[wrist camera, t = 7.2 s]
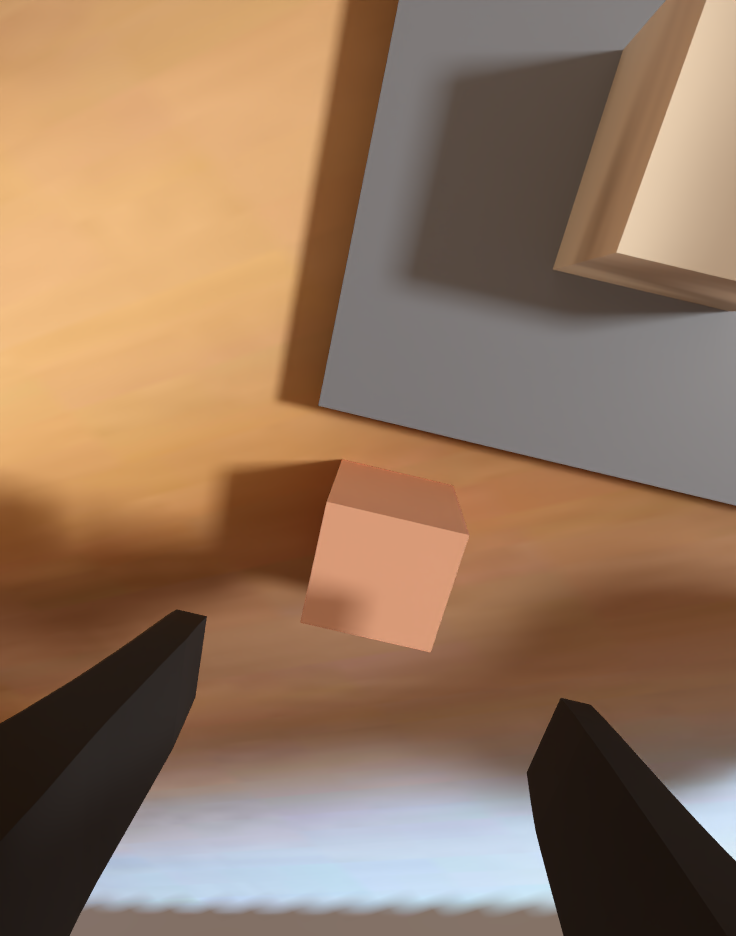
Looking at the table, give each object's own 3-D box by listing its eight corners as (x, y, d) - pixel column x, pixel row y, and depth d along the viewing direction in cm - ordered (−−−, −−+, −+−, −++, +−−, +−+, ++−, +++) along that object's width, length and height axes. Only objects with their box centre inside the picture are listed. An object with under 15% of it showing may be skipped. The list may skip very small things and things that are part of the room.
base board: (1122, -104, 11) (1228, -164, 10) (783, 507, 16) (821, 525, 15) (462, -279, 11) (471, -367, 10) (325, 397, 16) (318, 405, 15)
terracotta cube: (452, 484, 17) (469, 535, 13) (423, 581, 18) (430, 652, 14) (342, 458, 17) (326, 501, 13) (320, 557, 18) (300, 622, 14)
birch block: (824, 98, 12) (1032, -6, 8) (729, 311, 13) (864, 311, 9) (623, 49, 11) (734, -81, 8) (552, 269, 13) (616, 252, 9)
